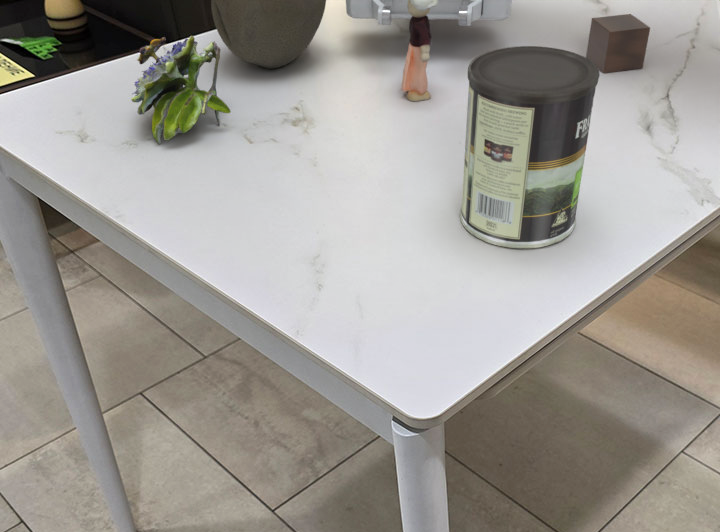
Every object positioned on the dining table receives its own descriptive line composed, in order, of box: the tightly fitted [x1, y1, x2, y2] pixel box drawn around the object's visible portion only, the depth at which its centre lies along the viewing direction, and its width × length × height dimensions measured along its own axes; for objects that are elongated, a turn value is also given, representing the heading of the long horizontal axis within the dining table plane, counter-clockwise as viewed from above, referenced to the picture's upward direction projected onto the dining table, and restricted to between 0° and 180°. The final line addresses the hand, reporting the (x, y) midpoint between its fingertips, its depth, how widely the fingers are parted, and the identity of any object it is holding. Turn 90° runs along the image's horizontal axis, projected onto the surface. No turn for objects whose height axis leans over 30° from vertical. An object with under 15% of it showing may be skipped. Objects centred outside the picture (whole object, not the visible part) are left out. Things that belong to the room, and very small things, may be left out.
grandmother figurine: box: [400, 0, 438, 102], centre depth 95 cm, size 8×4×13 cm, turn 13°
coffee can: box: [459, 45, 600, 250], centre depth 73 cm, size 10×10×14 cm
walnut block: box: [585, 13, 651, 74], centre depth 102 cm, size 5×5×5 cm
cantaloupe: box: [210, 0, 327, 69], centre depth 104 cm, size 14×14×15 cm
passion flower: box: [130, 35, 232, 145], centre depth 94 cm, size 11×11×12 cm
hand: (424, 18), depth 99 cm, fingers open, 8 cm apart
